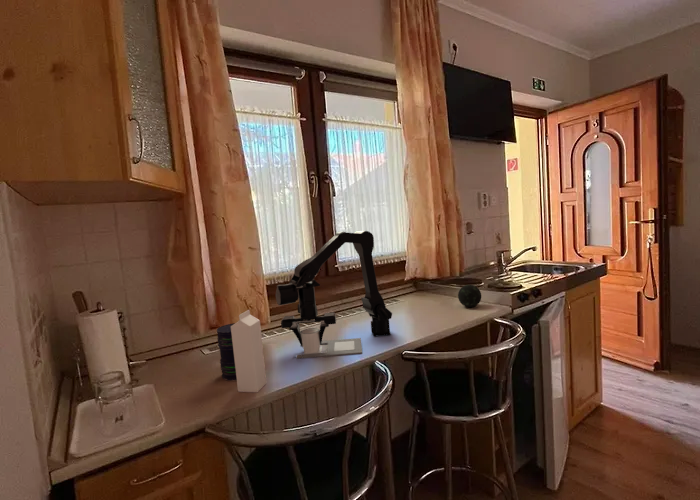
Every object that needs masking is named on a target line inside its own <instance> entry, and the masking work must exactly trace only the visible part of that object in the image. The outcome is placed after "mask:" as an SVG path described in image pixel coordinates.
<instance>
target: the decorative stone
mask: <svg viewBox="0 0 700 500" xmlns="http://www.w3.org/2000/svg"><path fill="white" fill-rule="evenodd" d="M457 298H458V301H459V303H460V304H461V305H462V306H464V307H467V308H474V307H477V305H479V304H480V302H481V301H482V293H481V290H480V288H478V287H477V286H476V285H473V284H466V285H463V286H462V287H461V288H460V289H459V291H458V292H457Z"/></svg>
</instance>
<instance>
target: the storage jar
mask: <svg viewBox="0 0 700 500" xmlns="http://www.w3.org/2000/svg"><path fill="white" fill-rule="evenodd" d="M235 323H236V322H234V323H228V324H224V325H221V326H219V327H217V328H216V334H217V335H216V336H217V338H216V339H217V343H218V344H217V346H218V348H219V353H220V359H219V363H220V370H221V374H222V375H221V378H222V379H223V380H225V381H229V382H230V381H237V377H236V369H235V360H234V351H233V342H232V333H231V326H232V325H233V324H235Z"/></svg>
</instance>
